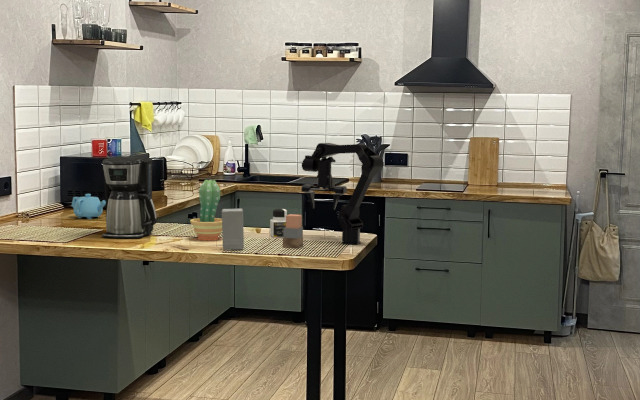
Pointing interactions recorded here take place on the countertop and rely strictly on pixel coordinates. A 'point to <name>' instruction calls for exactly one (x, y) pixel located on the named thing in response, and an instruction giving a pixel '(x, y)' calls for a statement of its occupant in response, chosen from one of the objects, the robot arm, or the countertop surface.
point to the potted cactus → (208, 212)
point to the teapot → (87, 206)
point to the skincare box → (232, 229)
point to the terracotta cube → (293, 221)
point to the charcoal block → (293, 233)
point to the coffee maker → (128, 197)
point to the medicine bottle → (278, 223)
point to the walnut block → (292, 242)
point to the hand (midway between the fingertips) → (323, 209)
